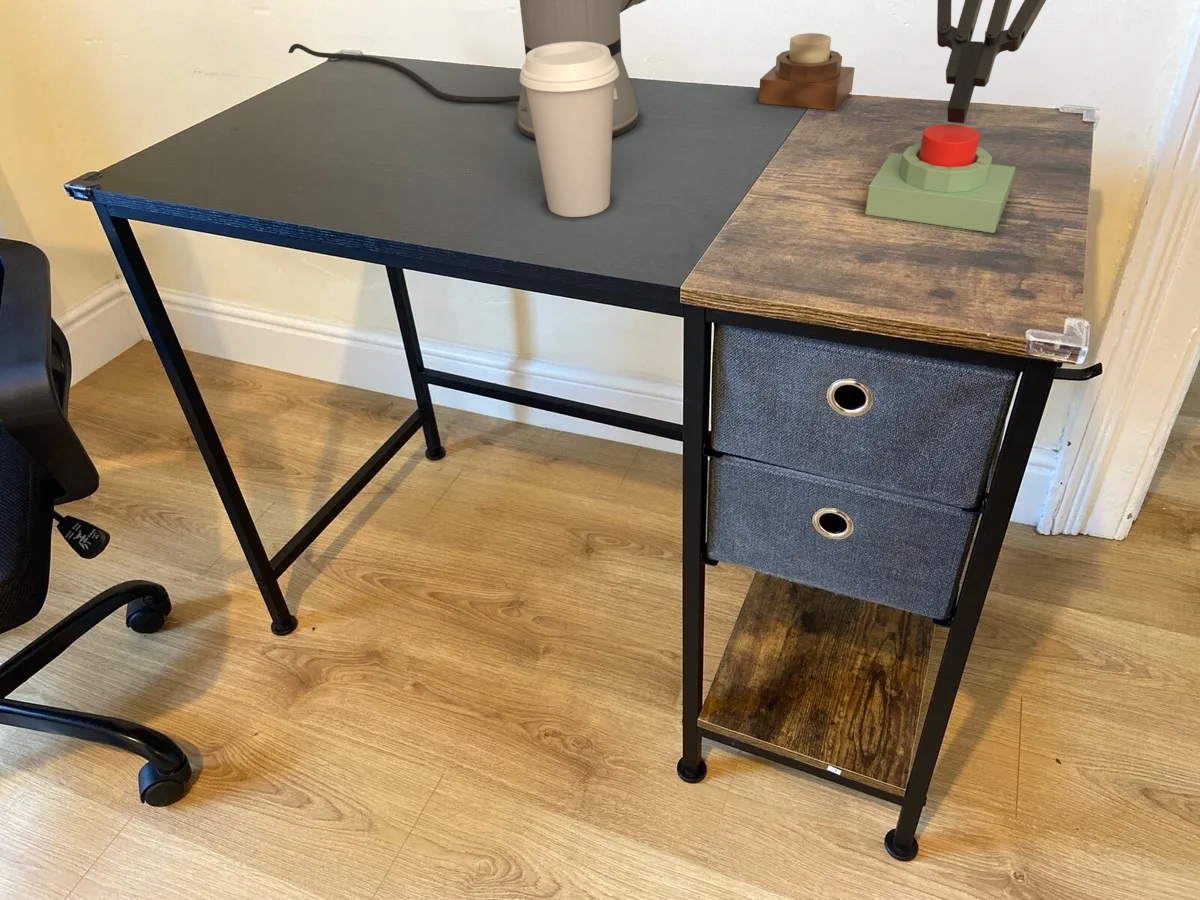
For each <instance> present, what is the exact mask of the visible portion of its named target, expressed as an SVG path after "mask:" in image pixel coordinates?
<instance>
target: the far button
mask: <svg viewBox="0 0 1200 900" xmlns="http://www.w3.org/2000/svg"><path fill="white" fill-rule="evenodd" d="M831 44H832V38H831V36H830V35H827V34H823V33H815V32H809V33H807V32H806V33H798V34H796V35H793V36H791V37H790V39H789V60H790V61H793V62H798V63H820V62H824V61H828V60H829V55H830V50H831V46H832V45H831Z"/></svg>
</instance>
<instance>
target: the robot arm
mask: <svg viewBox="0 0 1200 900" xmlns="http://www.w3.org/2000/svg"><path fill="white" fill-rule="evenodd" d="M646 1H647V0H519V9H520V15H521V25H522V34H523V43H524V52H525V53H524V54H525V56H526V55H527V53H528V52H529V51H531V50H533V49H535V48H537V47H540V46H544V45H548V44H553V43H560V42H572V41H582V42H594V43H599V44H602V45H605V46H606V47H608V48H609V50H610V54H611V57H612V58H613V59H614V60H615V62H616V64H617V66H618V70H619V76H618V77H617V78H616V79H615V80H614V100H613V125H612V138H614V137H617V136H620V135H623V134H625V133H626V132H628V131H630V130H632V128H634V127H635V126H636V125H637V124H638V122H639V106H638V100H637V96H636V95H635V91H634V89H633V85H632V82H631V79H630V76H629V73H628V71H627V68H626V64H625V62H624V59H623V56H622V55H623V54H622V36H621V35H622V31H621V13H623V12H625V11H627V10H628V9H630V8H631V7H633V6H636V5H639V4H641V3H644V2H646ZM1012 1H1013V0H994V2H993V6H992V9H991V12H990V16H989V20H988V24H987V27H986V30H985V31H984V40H983V41H977V40H976V41H975V40H972V38H973V35H974V31H975V28H976V25H977V22H978V18H979V14H980V11H981V8H982V3H983V0H964V3H963V6H962V8H961V9H962V10H961V13H960V17H959V19H958V22H957V23H958V24H957V27H956V26H953V25H952V4H953V3H952V0H937V4H936V5H937V7H936V8H937V10H936V11H937V12H936V13H937V15H936V33H937V34H936V41H937V45H938V47H940V48H949V49H950V55H949V58H948V61H947V64H946V69H945V82H946V84H947V85H953V87H952V89H951V90H952V91H951V94H950V98H949V101H948V105H947V123H955V124H965V122H966V118H967V115H968V111H969V107H970V104H971V100H972V97H973V95H974V94H973V93H974V89H975V87H978V88H979V87H980V88H985V87H986V86H987V85H988V84H989V81H990V77H991V74H992V71H993V67H994V63H995V60H996V57H997V56H998V55H999V54H1000V53H1002V52H1006V51H1008V52H1010V53H1013V52H1017V51H1018V50H1019V49H1020V47H1021V45H1022V44H1023V42H1024V40H1025V38H1026V37H1027V35H1028V33H1029V32H1030V30H1031V28H1032V27H1033V25H1034V22H1035V21H1036V19H1037V17H1038V15H1040V12H1041V11H1042V9H1043V7H1044V5H1045V3H1046V2H1047V0H1023V2H1022V3H1021V6H1020V8H1019V10H1018V11H1017V13H1016V14H1015V16H1014V18H1013V20H1012V21H1011V24H1010V25H1009V27H1008V29H1005V26H1006V22H1007V19H1008V16H1009V12H1010V8H1011V5H1012ZM297 49H298V50H301V51H303V52H305V53H307V54H309V55H311V56H313V57H317V58H324V59H325V58H326V59H344V60H356V61H364V62H369V63H370V62H371V63H376V64H381V65H385V66H388V67H390V68H391V67H392V68H393V69H396V70H398V71H401V72H402V73H404V74H405V75H408V76H409V77H411V78H412V79H413V80H415V81H416V82H417V83H418V84H419V85H421V86H423V87H424V88H426V89H427V90H428V91H429V92H430V93H431V94H433V95H435V96H436V97H438V98H440V99H444V100H448V101H453V102H459V103H460V102H461V103H485V104H486V103H491V104H492V103H498V104H499V103H514V102H518V105H517V124H518V125H517V126H518V129H519V131H520V133H521V134H522V135H524V136H526V137H528V138H530V139H533V140H536V138H535V133H534V128H533V123H532V117H531V112H530V107H529V102H528V97H527V92H526V87H525V86H524V85H522V84H521V89H520V94H519V95H509V96H507V95H506V96H466V95H455V94H450V93H445V92H442V91H440V90H438V89H436V88H435V87H434V86H433V85H431V84H430V83H429V82H428V81H426V80H424V79H423V78H422V77H421V76H419V75H418V74H417V73H416V72H414V71H412V70H411V69H408V68H407V67H405V66H403V65H401V64H399V63H397V62H393V61H391V60H389V59H388V60H387V59H383V58H380V57H375V56H368V55H362V54H353V53H335V52H334V53H333V52H321V51H320V52H319V51H315V50H312V49H311V48H309V47H307V46H305V45H303V44H301V43H294V44H292V45H291V46H290V47H289V49H288V54H294V52H295V50H297Z"/></svg>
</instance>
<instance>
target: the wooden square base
mask: <svg viewBox="0 0 1200 900" xmlns="http://www.w3.org/2000/svg"><path fill="white" fill-rule="evenodd" d="M789 50H790V49H789ZM789 50H785V51H781V52H780V53H779V54H778V55H777V56H776V59H775V66H773V67H772V68H771V69H770V70H768V72H766V73H765V74H763V76H762V77H761V78H760V79H759V90H758V91H759V92H758V104H764V105H765V104H766V105H776V106H783V107H784V106H786V107H796V108H805V109H815V110H826V111H837V109H838V108H839V106H840V105H841V104H842V103H843V102H844V101H845V100H846V99H847V98H848V96H849V95H850V94H851V93H852V91H853V84H854V76H855V67H854V66H853V67H852V66H843V65H842V62H843V55H841V54H840V53H839V52H838V51H835V50H831V49H830V55H829V60H828V61H824V62H820V63H798V62H793V61H790V60H789Z"/></svg>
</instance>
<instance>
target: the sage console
mask: <svg viewBox="0 0 1200 900" xmlns="http://www.w3.org/2000/svg"><path fill="white" fill-rule="evenodd" d="M921 143H922V141H921V142H918V143H915V144H913V145H910V146H907V147H906V149H905V150H904V151H903V153H898V152H890V153H889V155H888V157H887V158H886V160H885V161H884V162H883V164H882V165H881V167H880V168H879V170H878V172H877V173H876V174H875V176H874V177H873V179H872V181H871V182H870V184H869V185H868V191H867V192H868V193H867V198H866V205H865V213H864V214H865V215H867V216H873V217H879V218H887V219H894V220H902V221H908V222H913V223H914V222H915V223H922V224H928V225H936V226H942V227H948V228H956V229H963V230H970V231H977V232H982V233H983V232H984V233H991V234H995V233H996V230H997V228H998V225H999V222H1000V220H1001V217H1002V214H1003V212H1004V209H1005V206H1006V204H1007V202H1008V199H1009V196H1010V192H1011V188H1012V184H1013V180H1014V177H1015V173H1016V172H1015V171H1016V166H1009V165H1002V164H994V163H992V160H993V156H992V155H991V154H990V153H989V152H988V151H987V150H986V149H985V148H983V147H980V146H977V150H976V155H975V159H974V163H973V164H970V165H967V166H961V167H942V166H934V165H931V164H928V163H925V162H923V161H920V160H919V154H920V149H921Z"/></svg>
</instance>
